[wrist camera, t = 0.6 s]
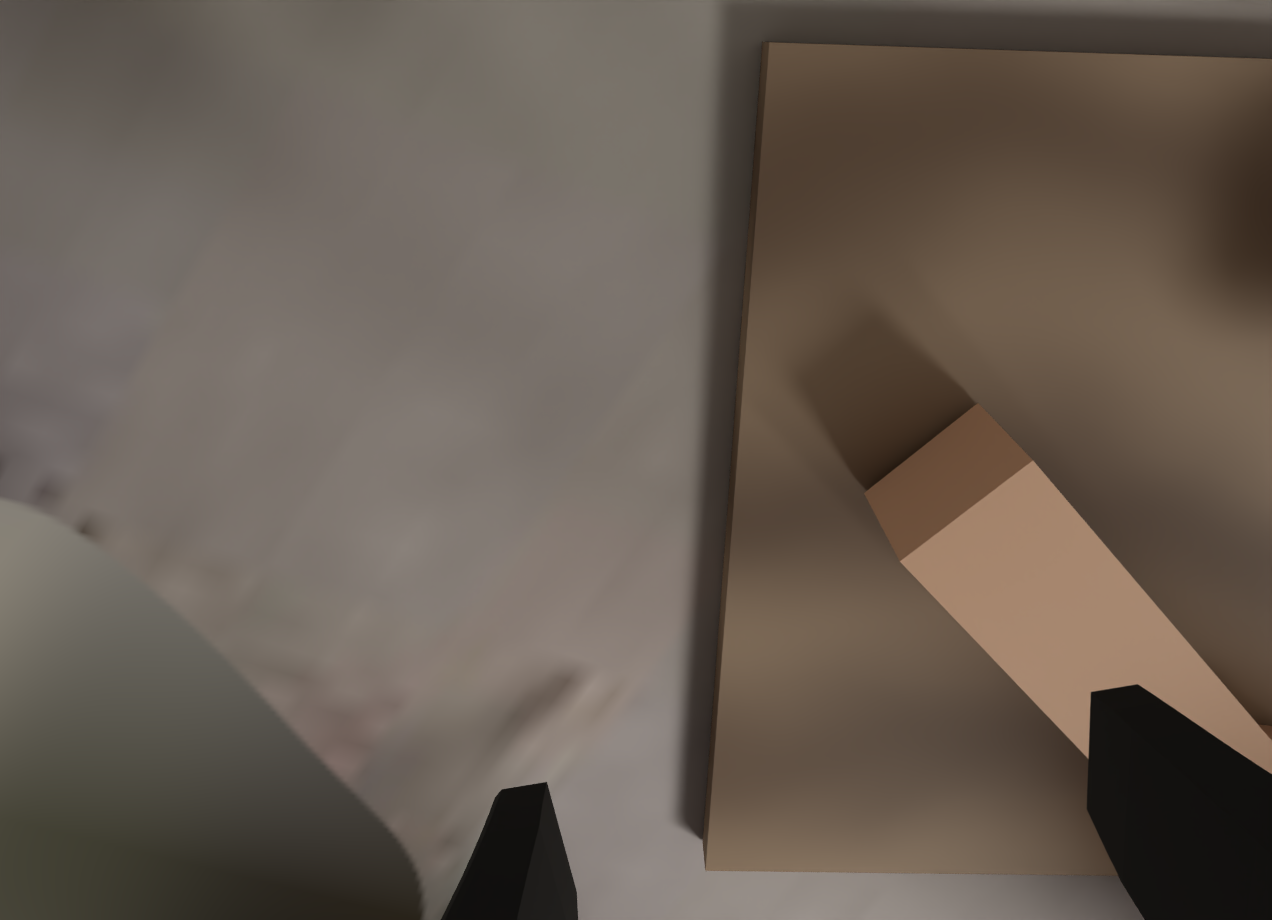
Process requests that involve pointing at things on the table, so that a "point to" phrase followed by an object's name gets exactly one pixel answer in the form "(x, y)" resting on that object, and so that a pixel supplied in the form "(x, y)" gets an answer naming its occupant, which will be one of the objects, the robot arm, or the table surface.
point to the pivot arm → (1043, 586)
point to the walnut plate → (1012, 395)
